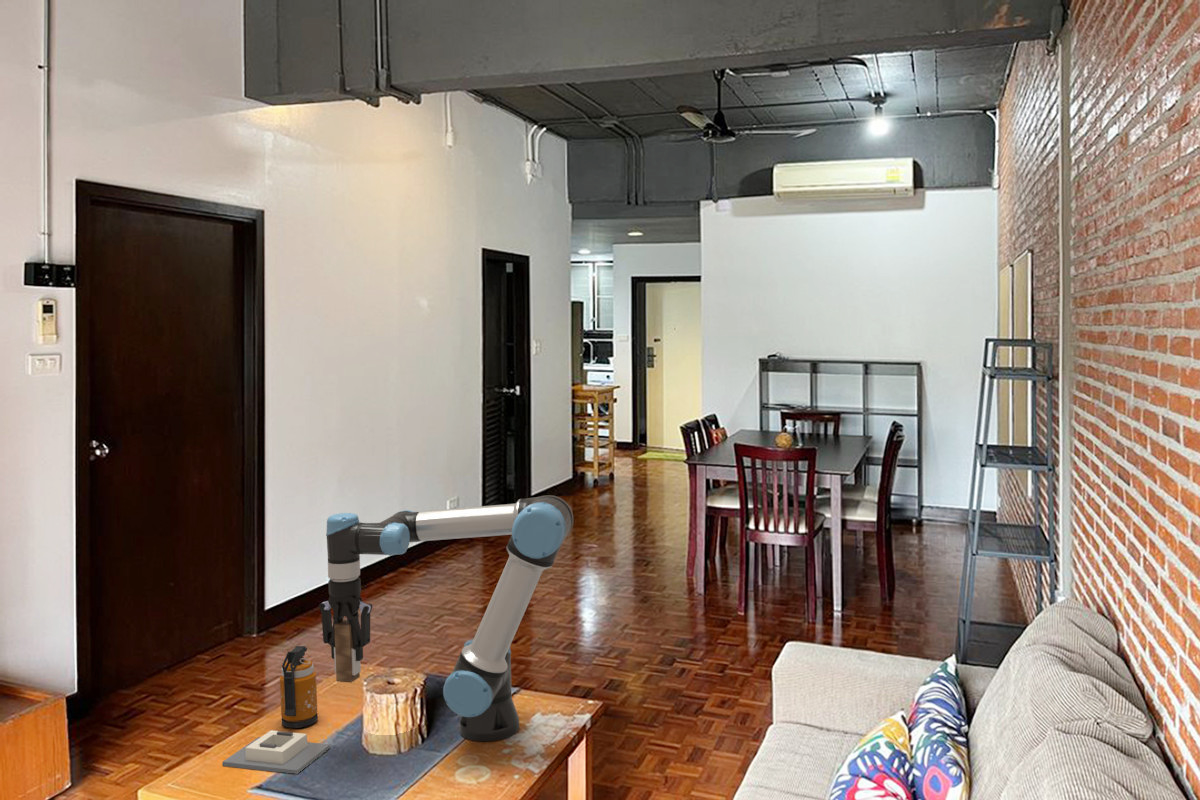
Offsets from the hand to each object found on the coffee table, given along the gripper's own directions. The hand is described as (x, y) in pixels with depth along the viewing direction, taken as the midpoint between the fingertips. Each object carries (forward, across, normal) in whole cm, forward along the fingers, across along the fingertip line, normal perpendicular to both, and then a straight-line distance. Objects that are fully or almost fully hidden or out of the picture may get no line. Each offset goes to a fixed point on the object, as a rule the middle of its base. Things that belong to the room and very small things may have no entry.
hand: (347, 672), depth 228 cm
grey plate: (+19, +14, +9) cm, 25 cm away
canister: (+19, +20, -9) cm, 29 cm away
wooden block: (+2, 0, 0) cm, 2 cm away
